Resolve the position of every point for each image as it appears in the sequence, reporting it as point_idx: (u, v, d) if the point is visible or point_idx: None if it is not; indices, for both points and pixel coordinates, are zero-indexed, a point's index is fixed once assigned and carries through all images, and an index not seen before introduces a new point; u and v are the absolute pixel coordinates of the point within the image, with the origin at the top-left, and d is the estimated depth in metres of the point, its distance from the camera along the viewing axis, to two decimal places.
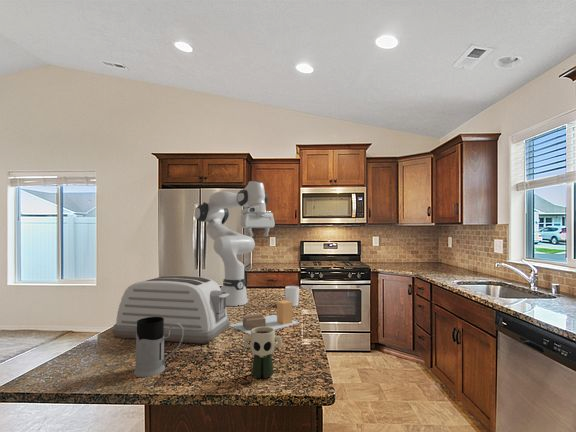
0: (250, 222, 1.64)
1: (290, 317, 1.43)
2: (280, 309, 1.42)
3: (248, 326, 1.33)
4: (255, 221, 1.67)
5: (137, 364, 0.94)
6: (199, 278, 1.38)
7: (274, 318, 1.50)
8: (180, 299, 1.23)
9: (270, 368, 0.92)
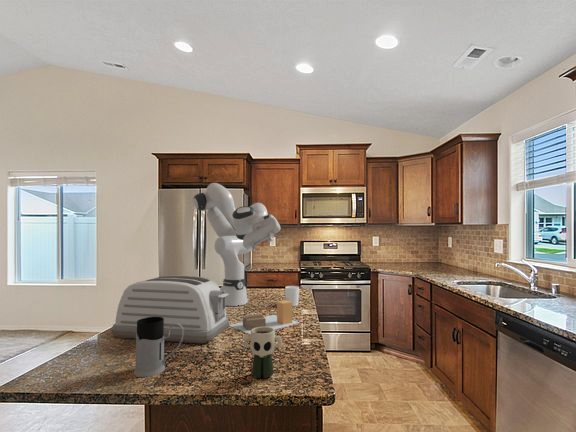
0: None
1: (290, 317, 1.43)
2: (280, 309, 1.42)
3: (248, 326, 1.33)
4: None
5: (137, 364, 0.94)
6: (198, 278, 1.38)
7: (274, 318, 1.50)
8: (179, 299, 1.23)
9: (270, 368, 0.92)
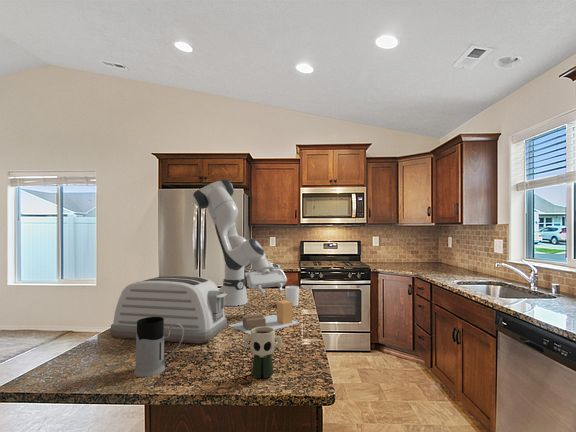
0: None
1: (290, 317, 1.43)
2: (280, 309, 1.42)
3: (248, 326, 1.33)
4: None
5: (137, 364, 0.94)
6: (197, 278, 1.38)
7: (274, 318, 1.50)
8: (177, 299, 1.23)
9: (270, 368, 0.92)
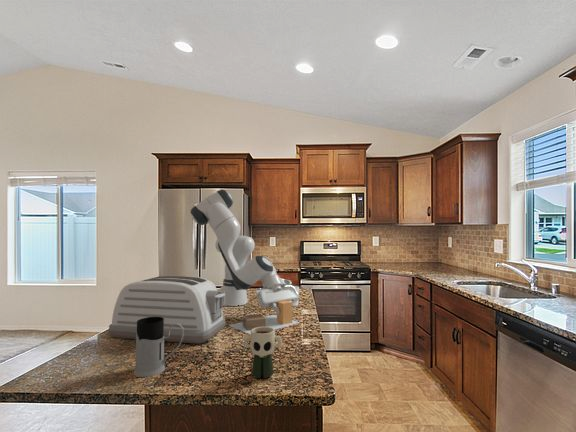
0: None
1: (290, 317, 1.43)
2: None
3: (248, 326, 1.33)
4: None
5: (137, 364, 0.94)
6: (195, 278, 1.38)
7: (274, 318, 1.50)
8: (175, 299, 1.23)
9: (270, 368, 0.92)
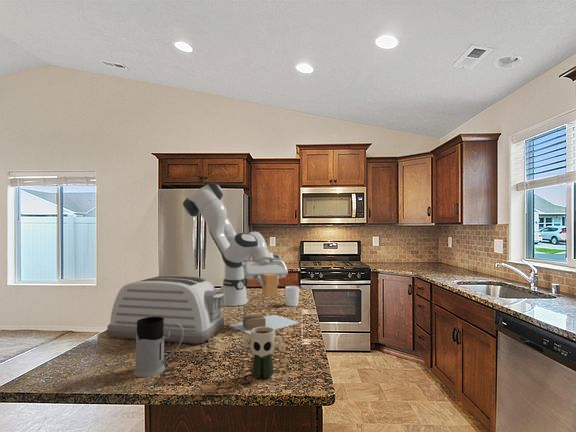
0: None
1: (275, 290, 1.39)
2: (265, 281, 1.39)
3: (248, 326, 1.33)
4: None
5: (137, 364, 0.94)
6: (194, 278, 1.38)
7: (274, 318, 1.50)
8: (174, 299, 1.23)
9: (270, 368, 0.92)
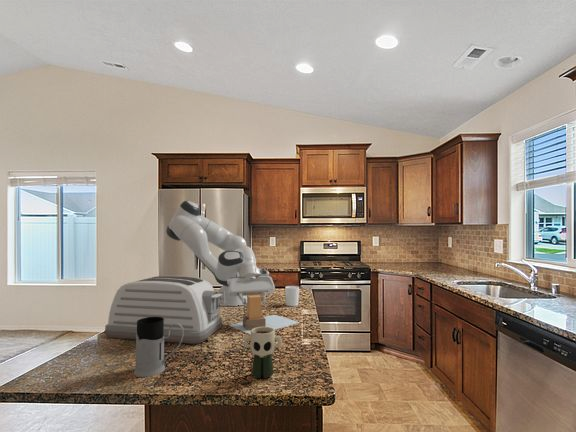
0: None
1: (258, 312, 1.36)
2: (248, 303, 1.36)
3: (248, 326, 1.33)
4: None
5: (137, 364, 0.94)
6: (192, 278, 1.38)
7: (274, 318, 1.50)
8: (172, 299, 1.23)
9: (270, 368, 0.92)
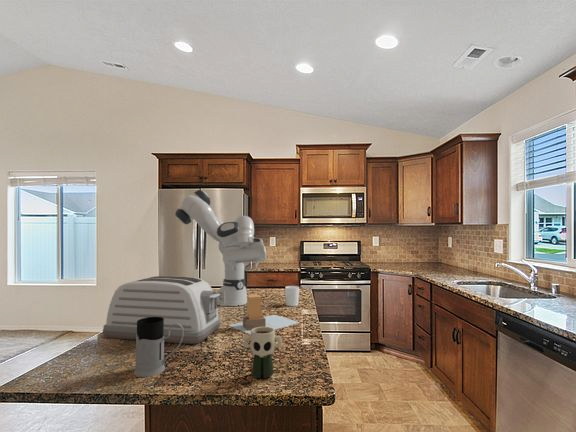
0: None
1: (258, 312, 1.36)
2: (248, 303, 1.36)
3: (248, 326, 1.33)
4: None
5: (137, 364, 0.94)
6: (190, 278, 1.38)
7: (274, 318, 1.50)
8: (170, 299, 1.22)
9: (270, 368, 0.92)
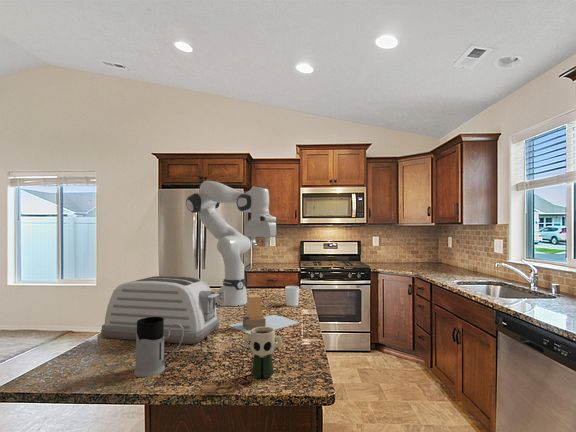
0: None
1: (258, 312, 1.36)
2: (248, 303, 1.36)
3: (248, 326, 1.33)
4: None
5: (137, 364, 0.94)
6: (189, 278, 1.38)
7: (274, 318, 1.50)
8: (168, 299, 1.22)
9: (270, 368, 0.92)
